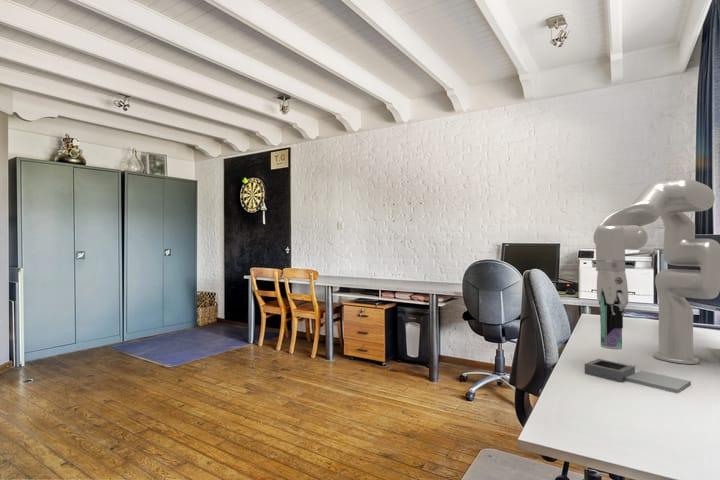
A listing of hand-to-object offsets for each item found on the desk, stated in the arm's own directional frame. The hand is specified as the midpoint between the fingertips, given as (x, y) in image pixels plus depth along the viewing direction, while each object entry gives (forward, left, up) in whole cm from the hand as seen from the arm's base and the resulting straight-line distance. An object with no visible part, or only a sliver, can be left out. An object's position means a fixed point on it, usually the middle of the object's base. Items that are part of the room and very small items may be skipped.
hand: (611, 325), depth 120 cm
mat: (-3, +11, -15) cm, 19 cm away
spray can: (0, 0, -7) cm, 7 cm away
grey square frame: (+1, 0, -15) cm, 15 cm away
